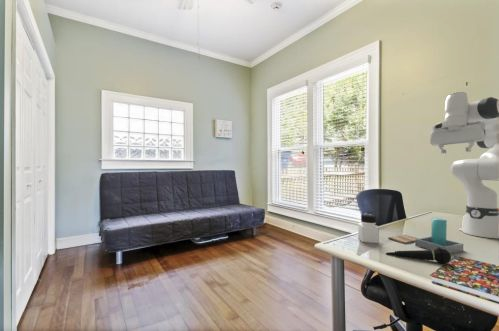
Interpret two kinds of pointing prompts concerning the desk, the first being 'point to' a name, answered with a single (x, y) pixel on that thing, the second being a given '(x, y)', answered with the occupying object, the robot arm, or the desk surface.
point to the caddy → (450, 245)
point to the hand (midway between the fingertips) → (455, 152)
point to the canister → (438, 231)
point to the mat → (403, 239)
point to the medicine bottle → (368, 229)
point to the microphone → (425, 255)
